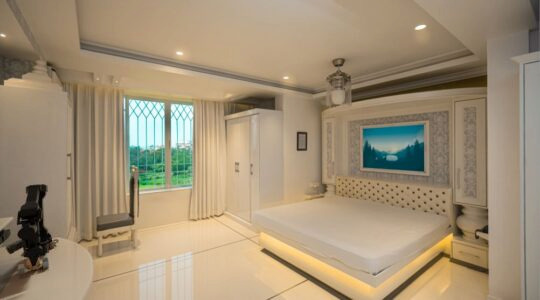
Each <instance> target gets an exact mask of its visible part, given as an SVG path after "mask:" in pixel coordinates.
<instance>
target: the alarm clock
mask: <svg viewBox="0 0 540 300" xmlns="http://www.w3.org/2000/svg"><path fill="white" fill-rule="evenodd" d="M59 241H60V240H59V239H58V238H55V239H52V242H51V243H50V244H48V250H49V249H53V248H55V246H56V244H58V243H59Z"/></svg>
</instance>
